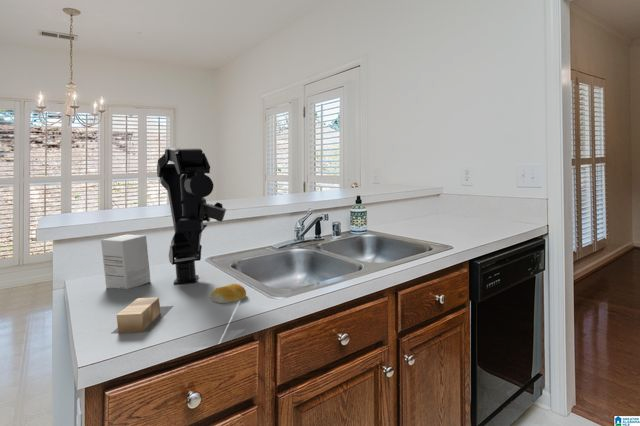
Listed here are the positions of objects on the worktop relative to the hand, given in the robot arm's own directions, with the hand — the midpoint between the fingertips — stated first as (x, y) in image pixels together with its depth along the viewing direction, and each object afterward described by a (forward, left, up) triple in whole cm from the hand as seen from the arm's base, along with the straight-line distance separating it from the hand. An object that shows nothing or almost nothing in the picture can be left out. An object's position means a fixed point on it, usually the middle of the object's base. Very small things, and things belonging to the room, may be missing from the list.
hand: (196, 251), depth 101 cm
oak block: (+13, -10, -10) cm, 19 cm away
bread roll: (+6, +8, -12) cm, 16 cm away
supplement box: (-14, -23, -12) cm, 30 cm away
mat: (+16, -10, -12) cm, 22 cm away
